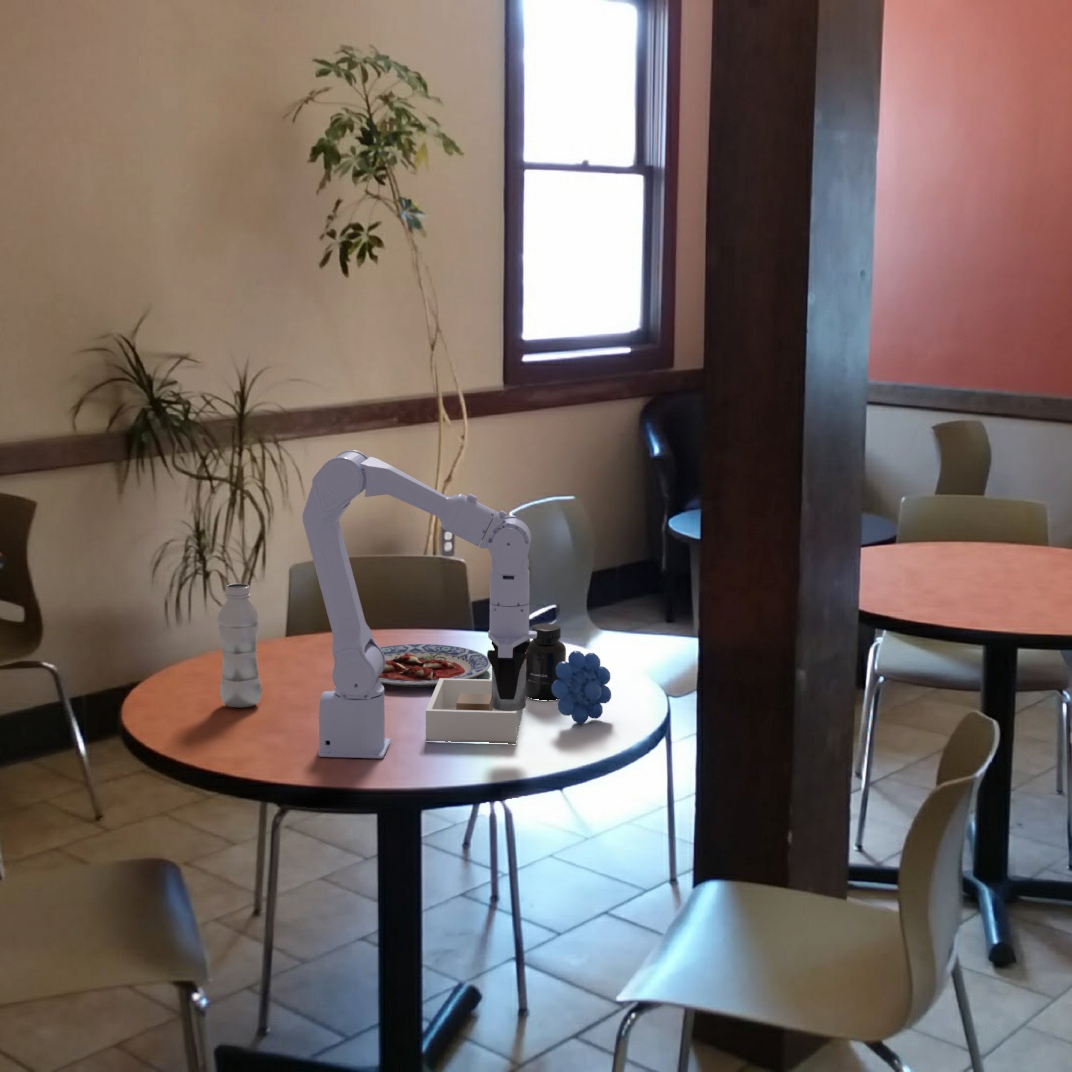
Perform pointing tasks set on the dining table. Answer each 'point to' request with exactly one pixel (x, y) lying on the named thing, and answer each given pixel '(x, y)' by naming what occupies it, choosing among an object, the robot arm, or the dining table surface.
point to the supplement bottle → (543, 661)
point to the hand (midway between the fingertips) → (508, 693)
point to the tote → (468, 715)
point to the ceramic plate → (430, 664)
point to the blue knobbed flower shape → (581, 686)
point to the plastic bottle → (239, 648)
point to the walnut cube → (474, 702)
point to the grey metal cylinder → (520, 695)
